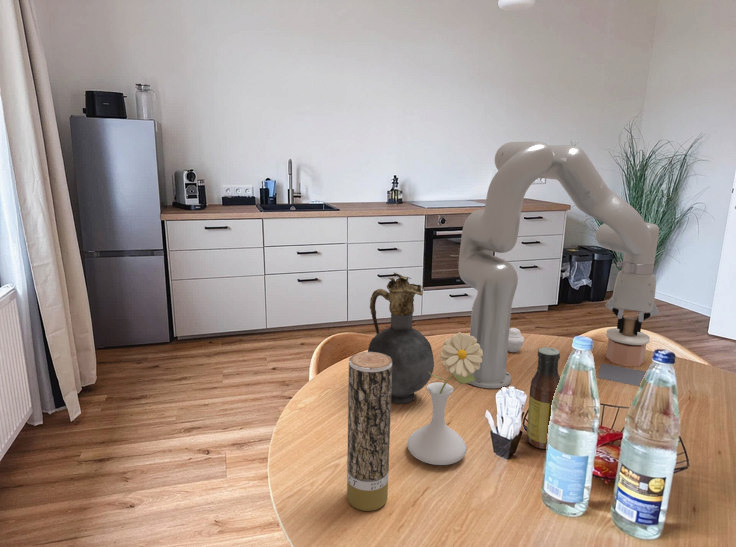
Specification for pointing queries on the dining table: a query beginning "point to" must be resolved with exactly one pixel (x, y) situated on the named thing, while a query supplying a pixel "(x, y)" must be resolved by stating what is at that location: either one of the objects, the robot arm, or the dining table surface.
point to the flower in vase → (437, 437)
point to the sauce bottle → (542, 396)
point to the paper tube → (368, 429)
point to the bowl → (625, 353)
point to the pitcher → (402, 341)
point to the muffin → (515, 340)
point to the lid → (628, 334)
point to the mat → (621, 374)
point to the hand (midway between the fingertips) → (628, 332)
